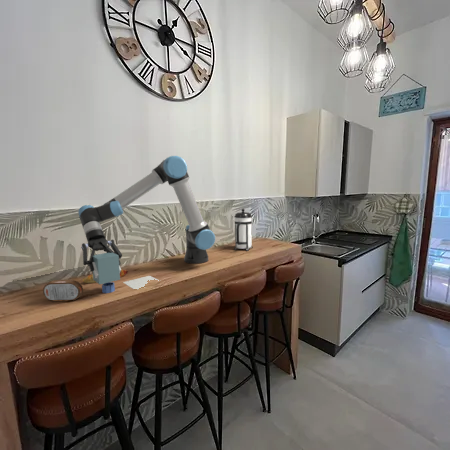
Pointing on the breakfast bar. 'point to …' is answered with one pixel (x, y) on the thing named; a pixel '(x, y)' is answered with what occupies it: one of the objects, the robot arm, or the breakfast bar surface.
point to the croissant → (90, 280)
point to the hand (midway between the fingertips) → (108, 274)
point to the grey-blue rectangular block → (106, 267)
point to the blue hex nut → (108, 287)
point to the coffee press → (243, 230)
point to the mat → (139, 282)
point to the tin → (63, 290)
